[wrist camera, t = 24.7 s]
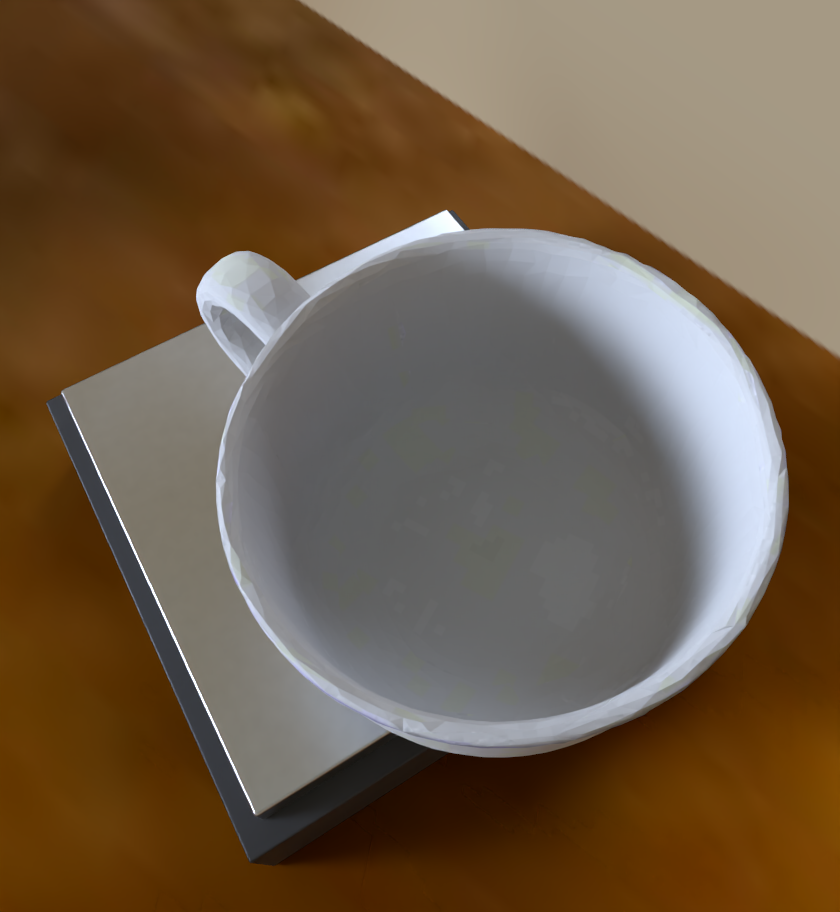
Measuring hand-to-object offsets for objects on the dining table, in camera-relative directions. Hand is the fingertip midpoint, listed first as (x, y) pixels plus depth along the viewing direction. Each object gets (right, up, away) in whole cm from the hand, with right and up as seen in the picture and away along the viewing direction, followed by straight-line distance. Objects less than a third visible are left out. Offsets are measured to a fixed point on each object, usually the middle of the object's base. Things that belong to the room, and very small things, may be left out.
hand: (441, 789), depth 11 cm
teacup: (0, +2, +12) cm, 12 cm away
